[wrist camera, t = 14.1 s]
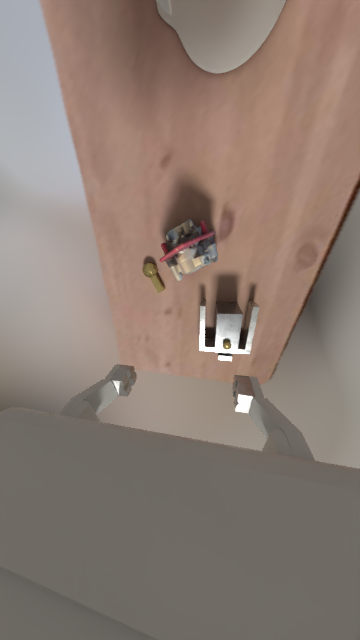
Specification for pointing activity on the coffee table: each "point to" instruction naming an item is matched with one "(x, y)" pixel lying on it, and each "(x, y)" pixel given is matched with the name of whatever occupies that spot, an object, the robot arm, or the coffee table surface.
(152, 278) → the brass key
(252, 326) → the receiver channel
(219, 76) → the coffee table surface
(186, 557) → the robot arm
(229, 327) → the block
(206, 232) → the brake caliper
